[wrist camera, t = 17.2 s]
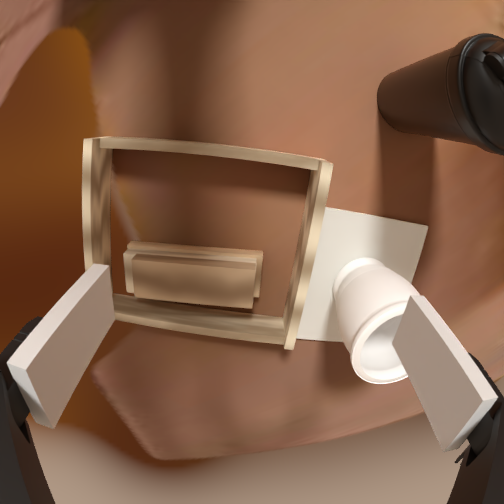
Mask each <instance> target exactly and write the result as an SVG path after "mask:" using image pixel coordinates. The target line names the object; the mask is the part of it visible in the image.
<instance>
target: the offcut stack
mask: <svg viewBox="0 0 504 504" xmlns="http://www.w3.org/2000/svg"><path fill="white" fill-rule="evenodd" d="M123 256H124V268H125V280H126V289H127V292H129V293H134V297H138V298H146V299H155V300H164V301H174V302H183V303H193V304H204V305H215V306H227V307H239V308H252V305H253V297H259V291H260V281H261V271H262V261H263V251H257V250H244V249H231V248H218V247H205V246H192V245H179V244H166V243H153V242H140V241H136V240H132V241H131V242H130V243H129V244H128V245H127V250H126V251H125V252H124V254H123Z"/></svg>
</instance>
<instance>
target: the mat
mask: <svg viewBox="0 0 504 504" xmlns="http://www.w3.org/2000/svg"><path fill="white" fill-rule="evenodd" d="M427 230H428V226H426V225H421V224H416V223H411V222H406V221H401V220H396V219H391V218H386V217H380V216H375V215H369V214H364V213H358V212H352V211H347V210H341V209H335V208H329V207H325V212H324V217H323V222H322V227H321V232H320V237H319V242H318V246H317V251H316V256H315V260H314V265H313V269H312V274H311V278H310V283H309V287H308V291H307V296H306V300H305V304H304V308H303V312H302V316H301V320H300V324H299V328H298V332H297V336H296V338H297V339H309V340H321V341H335V342H343V340H342V338H341V335H340V331H339V327H338V322H337V312H336V300H335V298H334V294H333V285H334V281H335V278H336V276H337V275H338V273H339V272H340V270H341V269H342V268H343V267H344V266H345V265H347V264H348V263H350V262H351V261H353V260H356V259H359V258H374V259H376V260H378V261H380V262H381V263H383V264H384V266H385V267H386V268H389V269H391V270H392V271H394V272H395V273H397V274H398V275H400V276H402V277H403V278H404V279H406V280H407V281H408V282H409V283H410V284H411V283H412V280H413V277H414V274H415V270H416V267H417V264H418V261H419V258H420V254H421V251H422V248H423V244H424V241H425V237H426V234H427Z"/></svg>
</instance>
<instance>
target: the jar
mask: <svg viewBox="0 0 504 504" xmlns="http://www.w3.org/2000/svg"><path fill="white" fill-rule="evenodd" d="M333 294H334V298H335V300H336V312H337V322H338V327H339V331H340V335H341V338H342V340H343V342H344V344H345V346H346V348H347V350H348V351H349V353H350V359H351V364H352V367H353V369H354V370H355V372H356V374H357V375H358V376H359V377H360V378H362V379H363V380H365V381H367V382H370V383H375V384H387V383H392V382H396V381H399V380H402V379H404V378H406V377H408V375H407V373H406V371H405V369H404V367H403V365H402V363H401V361H400V359H399V357H398V355H397V353H396V351H395V349H394V347H393V346H392V341H393V339H394V337H395V334H396V332H397V329H398V327H399V324H400V321H401V319H402V316H403V314H404V311H405V308H406V305H407V303H408V300H409V297H410V295H418V296H420V294H419V293H418V291H417V290H416V289H415V288H414V287H413V286H412V284H410V283H409V282H408V281H407V280H406V279H404V278H403V277H402V276H400V275H398V274H397V273H395V272H394V271H392V270H391V269H389V268H386V267H385V266H384V264H383V263H381V262H380V261H378V260H376V259H374V258H359V259H356V260H353V261H351V262H350V263H348V264H347V265H345V266H344V267H343V268H342V269H341V270H340V272H339V273H338V275H337V276H336V278H335V281H334V285H333Z"/></svg>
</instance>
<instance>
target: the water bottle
mask: <svg viewBox="0 0 504 504" xmlns="http://www.w3.org/2000/svg"><path fill="white" fill-rule="evenodd" d="M377 102H378V107H379V110H380V112H381V114H382V116H383V118H384V119H385V120H386V122H387V123H388V124H389V125H390V126H392V127H393V128H394V129H396V130H398V131H401V132H405V133H411V134H418V135H424V136H430V137H434V138H442V139H445V140H451V141H455V142H457V141H458V142H463V143H467V144H472V145H477V146H478V147H480V148H482V149H483V150H485V151H487V152H490V153H495V154H499V155H504V39H503V38H501V37H499V36H496V35H493V34H487V33H484V34H478V35H474V36H471V37H468V38H465V39H463V40H462V41H460V42H459V43H458V44H457V45H456V46H455V47H453V48H451V49H448V50H446V51H443V52H440V53H438V54H435V55H433V56H430V57H428V58H425V59H423V60H421V61H418V62H416V63H413V64H411V65H409V66H406V67H404V68H402V69H399V70H397V71H395V72H393V73H390V74H389V75H387V76H386V77H385V78H384V79H383V80H382V81H381V83H380V85H379V88H378V92H377Z"/></svg>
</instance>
